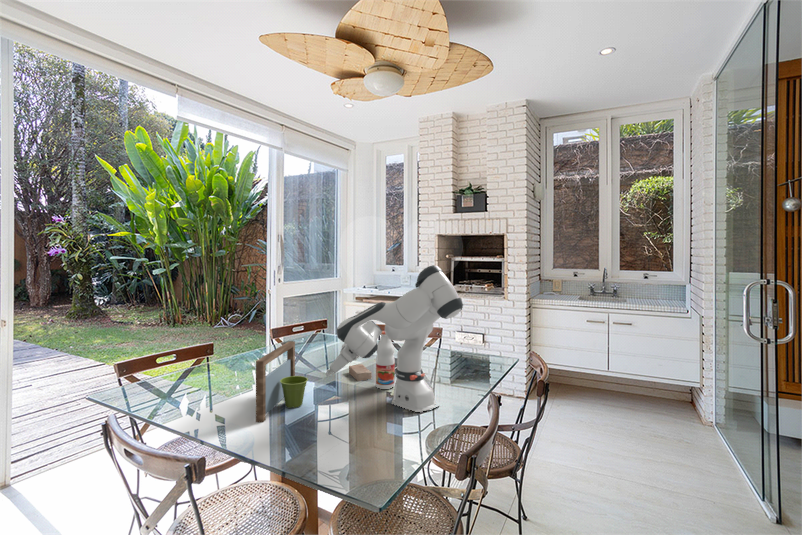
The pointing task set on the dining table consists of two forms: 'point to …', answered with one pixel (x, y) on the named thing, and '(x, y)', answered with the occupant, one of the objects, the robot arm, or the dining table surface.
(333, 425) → the dining table surface
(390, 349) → the fruit juice
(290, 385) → the plant pot
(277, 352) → the door frame
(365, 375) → the brick
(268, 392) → the door
